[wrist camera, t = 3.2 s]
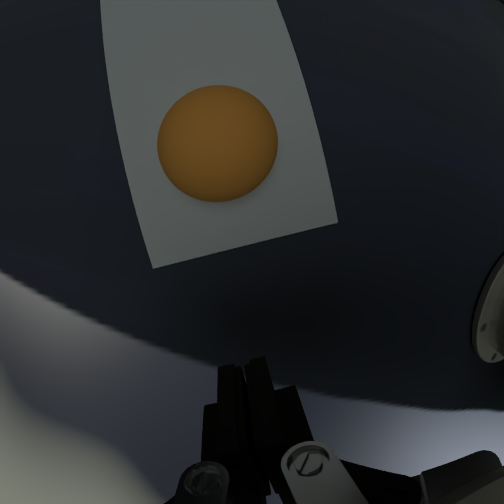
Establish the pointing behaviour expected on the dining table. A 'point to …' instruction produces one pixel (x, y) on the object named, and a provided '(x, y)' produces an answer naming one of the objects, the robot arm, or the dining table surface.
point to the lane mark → (200, 75)
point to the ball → (217, 143)
